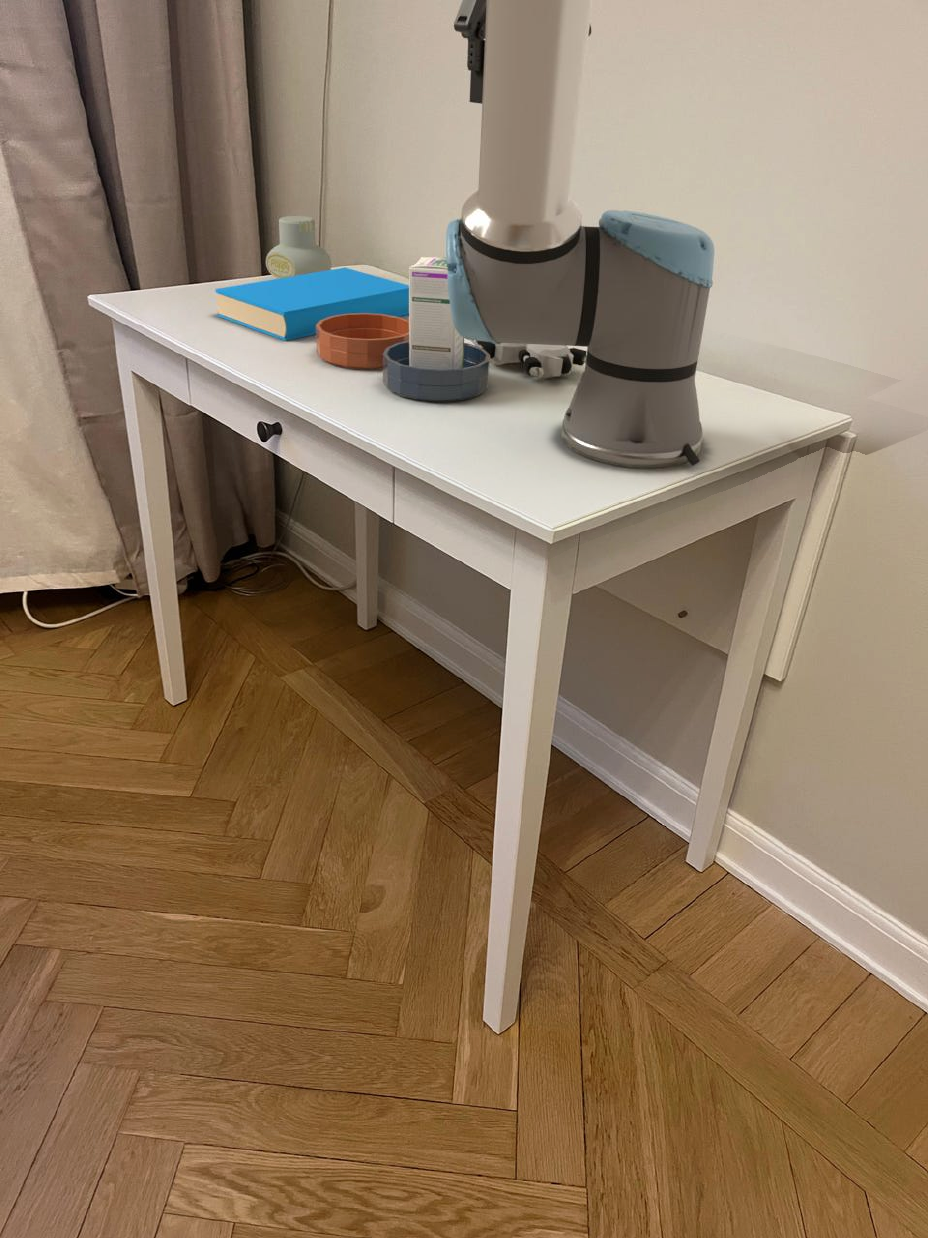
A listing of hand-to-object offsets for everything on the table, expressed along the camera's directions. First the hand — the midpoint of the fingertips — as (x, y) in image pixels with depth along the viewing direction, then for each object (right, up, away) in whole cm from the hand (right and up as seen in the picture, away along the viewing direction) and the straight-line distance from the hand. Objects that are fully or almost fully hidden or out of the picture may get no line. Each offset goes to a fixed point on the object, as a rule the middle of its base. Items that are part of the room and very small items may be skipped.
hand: (520, 102), depth 122 cm
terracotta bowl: (-20, -28, +11) cm, 36 cm away
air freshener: (-35, -7, +46) cm, 58 cm away
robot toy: (+2, -31, +9) cm, 32 cm away
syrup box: (-11, -34, +1) cm, 36 cm away
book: (-29, -18, +28) cm, 44 cm away
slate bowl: (-11, -35, +1) cm, 36 cm away
